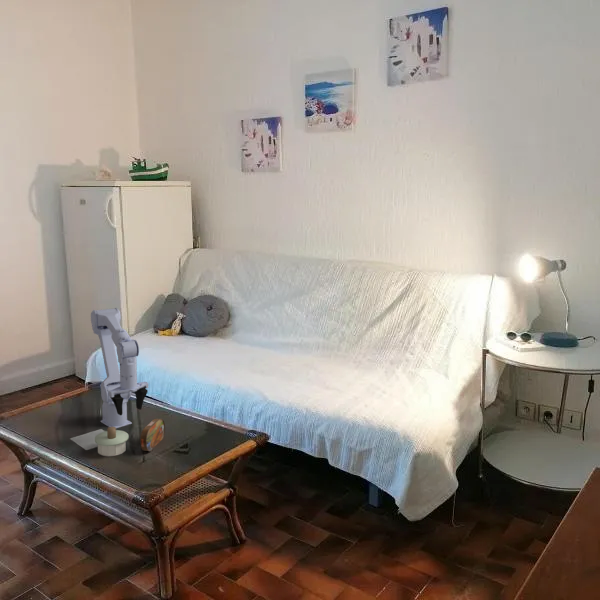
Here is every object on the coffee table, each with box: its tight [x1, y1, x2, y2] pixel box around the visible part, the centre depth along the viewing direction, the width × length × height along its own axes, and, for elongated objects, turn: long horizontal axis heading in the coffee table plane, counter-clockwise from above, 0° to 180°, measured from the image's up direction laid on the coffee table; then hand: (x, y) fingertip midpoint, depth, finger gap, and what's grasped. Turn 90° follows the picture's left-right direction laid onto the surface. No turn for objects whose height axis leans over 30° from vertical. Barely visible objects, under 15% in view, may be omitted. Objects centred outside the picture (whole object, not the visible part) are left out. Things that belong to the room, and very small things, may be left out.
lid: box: [95, 426, 130, 446], centre depth 201 cm, size 11×11×4 cm
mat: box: [69, 428, 106, 451], centre depth 209 cm, size 12×12×1 cm
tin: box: [139, 418, 166, 452], centre depth 206 cm, size 15×3×8 cm, turn 168°
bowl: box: [97, 441, 127, 457], centre depth 201 cm, size 9×9×4 cm
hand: (129, 411), depth 209 cm, fingers open, 7 cm apart
